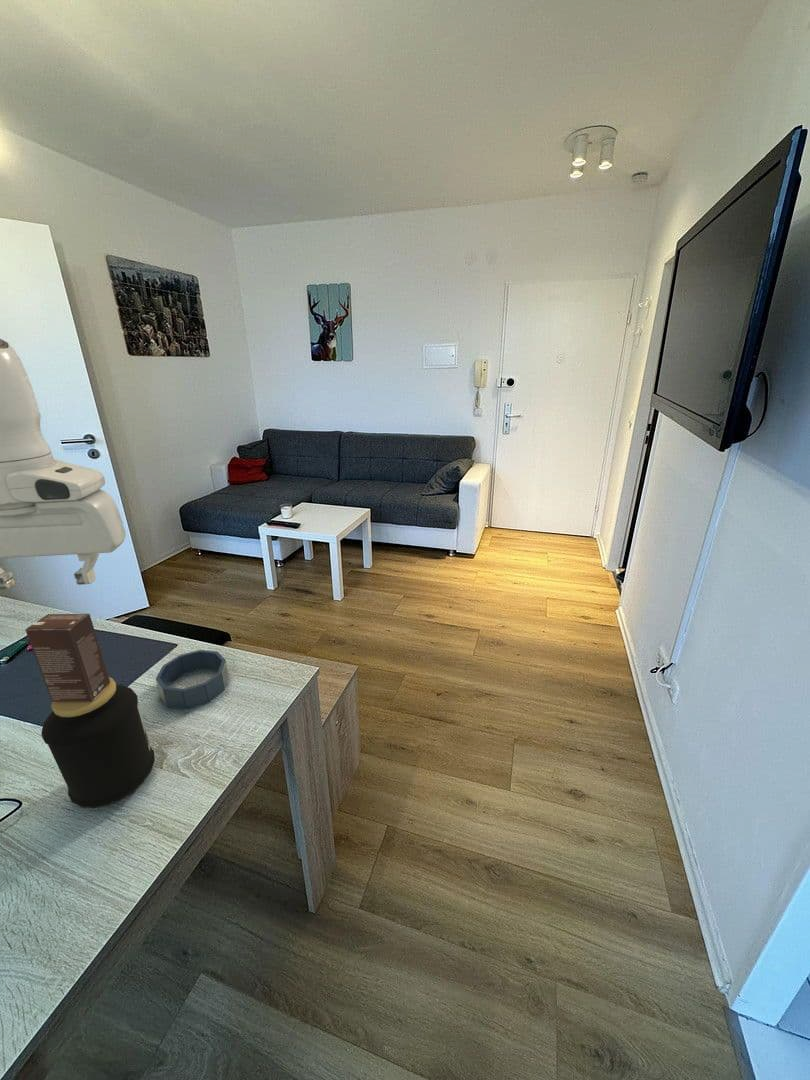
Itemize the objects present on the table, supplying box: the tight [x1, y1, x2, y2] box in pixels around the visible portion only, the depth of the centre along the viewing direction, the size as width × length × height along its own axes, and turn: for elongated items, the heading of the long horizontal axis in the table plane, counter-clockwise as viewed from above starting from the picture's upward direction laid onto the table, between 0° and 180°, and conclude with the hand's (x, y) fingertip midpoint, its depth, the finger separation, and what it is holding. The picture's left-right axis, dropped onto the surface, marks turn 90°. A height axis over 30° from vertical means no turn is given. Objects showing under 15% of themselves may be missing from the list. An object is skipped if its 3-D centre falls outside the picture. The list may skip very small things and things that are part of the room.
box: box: [24, 613, 110, 703], centre depth 60 cm, size 6×4×12 cm
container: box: [41, 676, 156, 809], centre depth 66 cm, size 12×12×18 cm
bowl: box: [155, 649, 230, 710], centre depth 89 cm, size 12×13×4 cm
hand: (46, 584), depth 56 cm, fingers open, 8 cm apart
